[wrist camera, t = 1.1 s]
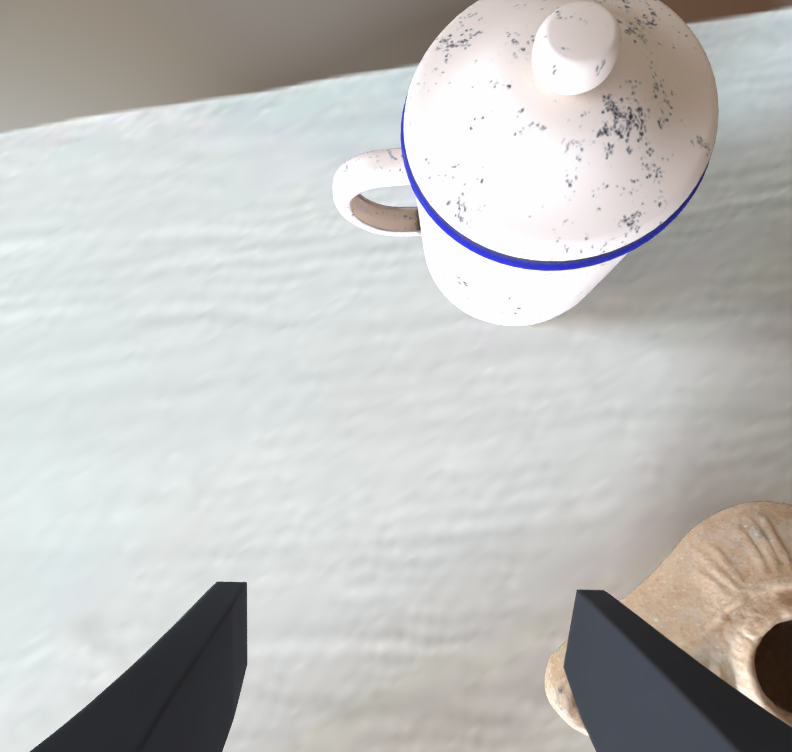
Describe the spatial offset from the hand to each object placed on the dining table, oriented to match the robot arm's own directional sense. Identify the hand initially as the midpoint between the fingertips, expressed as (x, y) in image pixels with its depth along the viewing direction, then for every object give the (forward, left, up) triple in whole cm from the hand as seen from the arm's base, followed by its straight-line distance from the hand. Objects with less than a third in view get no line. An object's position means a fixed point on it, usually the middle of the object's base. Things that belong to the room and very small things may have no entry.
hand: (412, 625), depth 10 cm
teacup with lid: (+13, -2, -11) cm, 18 cm away
